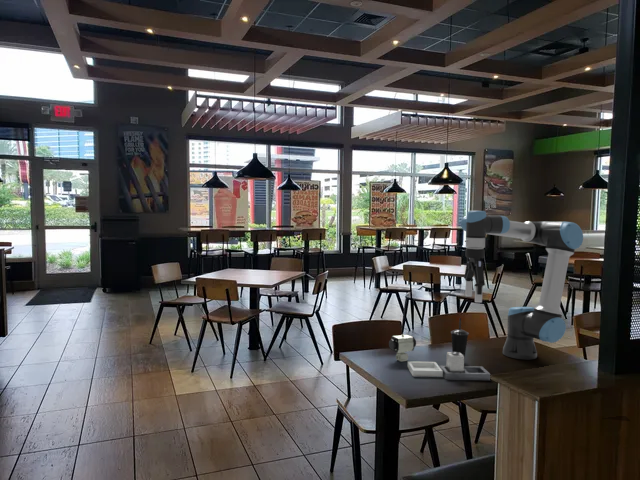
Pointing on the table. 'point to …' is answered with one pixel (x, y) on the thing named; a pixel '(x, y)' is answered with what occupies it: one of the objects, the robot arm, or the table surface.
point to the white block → (455, 362)
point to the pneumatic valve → (402, 346)
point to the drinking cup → (459, 340)
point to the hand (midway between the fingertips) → (473, 299)
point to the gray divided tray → (467, 373)
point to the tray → (425, 369)
